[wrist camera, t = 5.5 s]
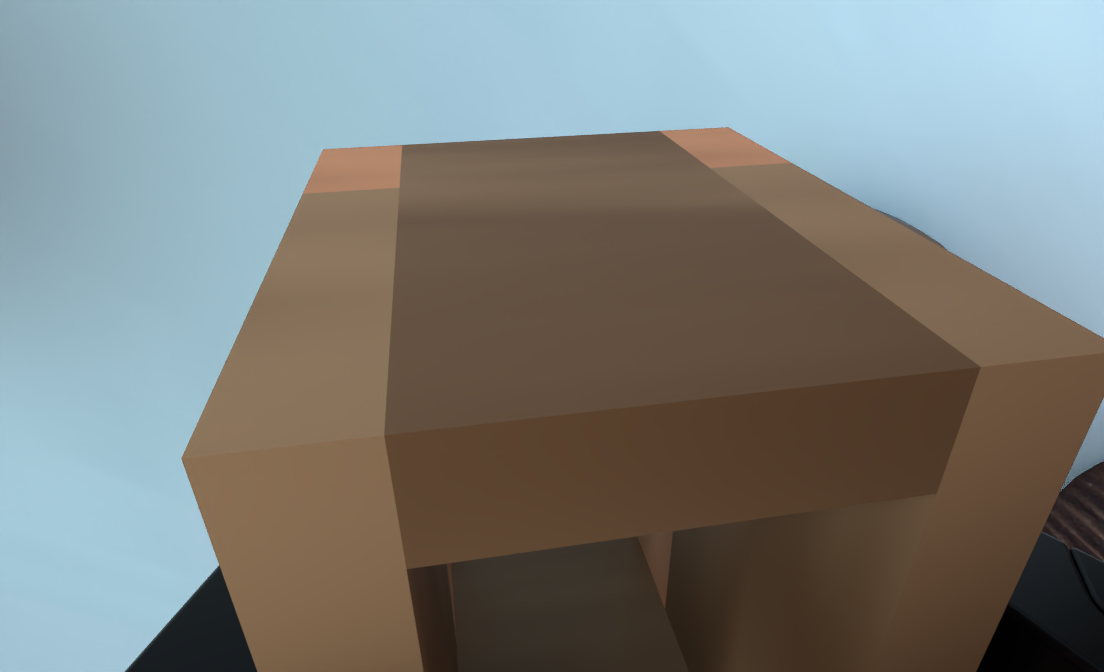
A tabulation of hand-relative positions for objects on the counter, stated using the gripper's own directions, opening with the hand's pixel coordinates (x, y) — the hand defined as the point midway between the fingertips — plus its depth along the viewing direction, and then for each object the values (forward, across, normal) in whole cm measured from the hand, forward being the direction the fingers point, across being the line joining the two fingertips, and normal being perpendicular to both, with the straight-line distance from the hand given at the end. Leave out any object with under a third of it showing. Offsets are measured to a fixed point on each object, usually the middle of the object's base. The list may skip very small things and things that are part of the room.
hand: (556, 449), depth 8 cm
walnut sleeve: (+1, 0, 0) cm, 1 cm away
